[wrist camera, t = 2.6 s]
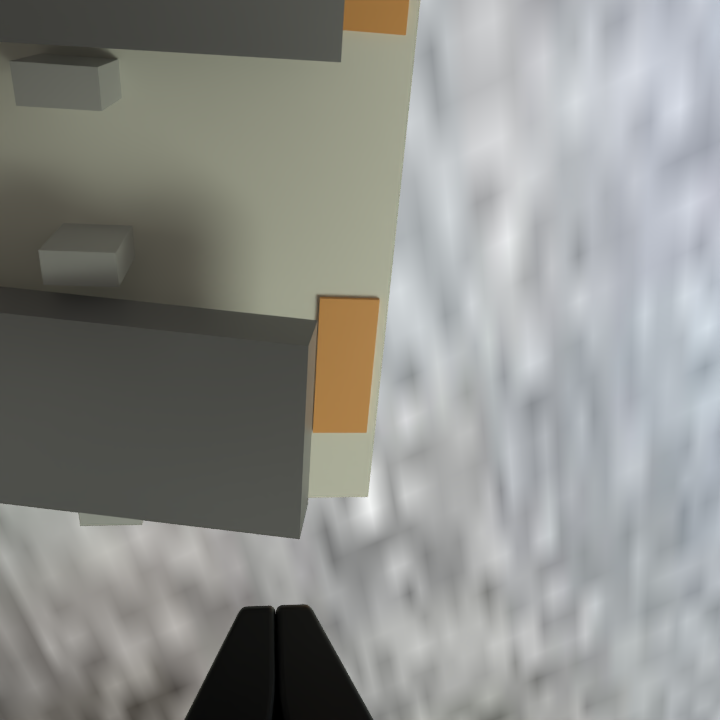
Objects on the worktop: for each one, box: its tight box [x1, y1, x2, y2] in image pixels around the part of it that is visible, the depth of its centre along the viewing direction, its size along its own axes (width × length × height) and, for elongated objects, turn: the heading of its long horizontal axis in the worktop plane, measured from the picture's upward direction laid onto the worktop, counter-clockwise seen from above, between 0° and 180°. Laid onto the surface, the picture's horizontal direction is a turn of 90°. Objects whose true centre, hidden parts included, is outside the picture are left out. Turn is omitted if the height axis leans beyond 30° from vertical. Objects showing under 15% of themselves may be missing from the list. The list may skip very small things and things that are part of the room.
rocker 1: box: [0, 286, 317, 539], centre depth 12 cm, size 8×4×1 cm, turn 86°
